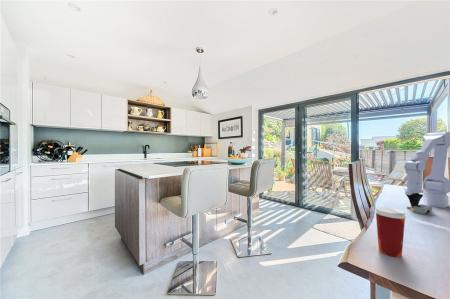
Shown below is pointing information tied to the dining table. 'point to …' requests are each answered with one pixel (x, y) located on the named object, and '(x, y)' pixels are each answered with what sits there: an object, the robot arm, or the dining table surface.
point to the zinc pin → (427, 212)
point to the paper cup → (390, 230)
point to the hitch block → (422, 209)
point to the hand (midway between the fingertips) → (414, 206)
